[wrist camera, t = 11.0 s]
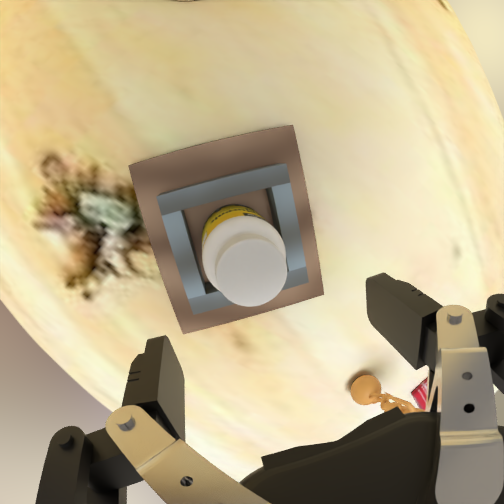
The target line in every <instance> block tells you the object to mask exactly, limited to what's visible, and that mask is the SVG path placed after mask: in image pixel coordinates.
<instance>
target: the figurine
mask: <svg viewBox="0 0 504 504" xmlns="http://www.w3.org/2000/svg"><path fill="white" fill-rule="evenodd" d="M380 393H381V384H380V382H379V380H378V379H377V378H375V377H374V376H371V375H363V376H361V377H359V378H357V379H356V380H355V381H354V382H353V384H352V386H351V396H352V398H353V400H354V401H355V402H356V403H358V404H360V405H369V404H372V403H373V404H375V403H377V402H381V409H382V410H385V411H384V412H386V411H389V410H391V409H393V408H395V407H397V406H398V407H399V409H400V410H401V411H402V413H403V414H405V413H411V412H421V411H422V412H425V410H423V409H419V408H414V406H413V405H412V404H411V403H410V402H408V401H405V400H402V399H399V398H396V397H393V396H392V395H390V394H388V393H386V394H387V395H386V394H380ZM379 397H382V398H379ZM389 399H392V400H394V401H395V402H393V403H390V402H389V401H388V400H389ZM401 404H403V405H405V406H402V405H401Z"/></svg>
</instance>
